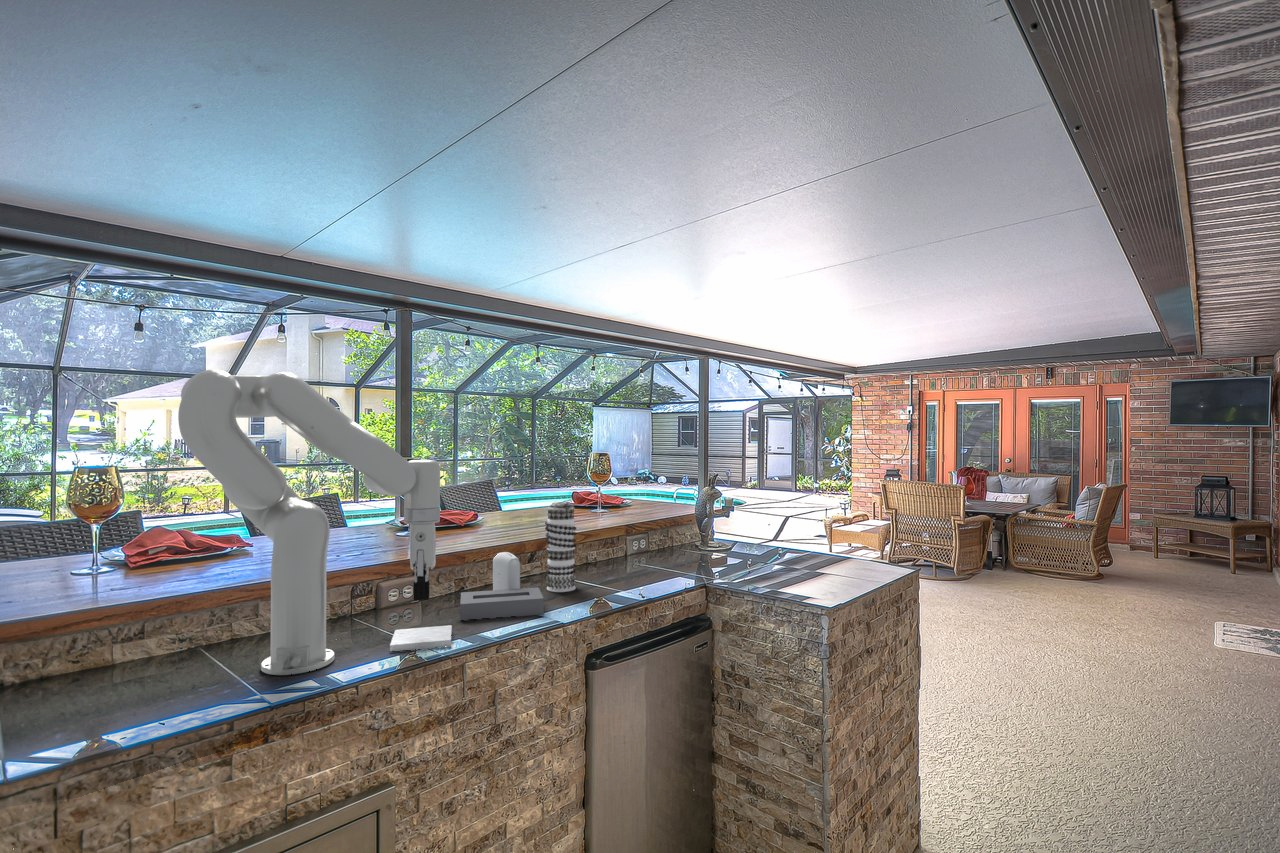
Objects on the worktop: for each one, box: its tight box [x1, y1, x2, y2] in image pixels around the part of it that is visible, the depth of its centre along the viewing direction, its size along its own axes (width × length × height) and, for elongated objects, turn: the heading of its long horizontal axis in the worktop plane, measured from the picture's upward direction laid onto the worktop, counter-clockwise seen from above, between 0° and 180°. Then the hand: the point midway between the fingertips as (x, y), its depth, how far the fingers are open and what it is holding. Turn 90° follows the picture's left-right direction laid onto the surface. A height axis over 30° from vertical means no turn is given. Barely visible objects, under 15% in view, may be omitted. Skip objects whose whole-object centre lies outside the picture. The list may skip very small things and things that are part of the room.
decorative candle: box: [544, 501, 577, 593], centre depth 184 cm, size 9×9×25 cm
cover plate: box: [389, 624, 453, 652], centre depth 136 cm, size 2×12×11 cm
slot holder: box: [459, 586, 545, 621], centre depth 160 cm, size 12×20×4 cm, turn 105°
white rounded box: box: [492, 551, 521, 590], centre depth 174 cm, size 10×4×12 cm, turn 39°
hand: (421, 599), depth 138 cm, fingers closed
